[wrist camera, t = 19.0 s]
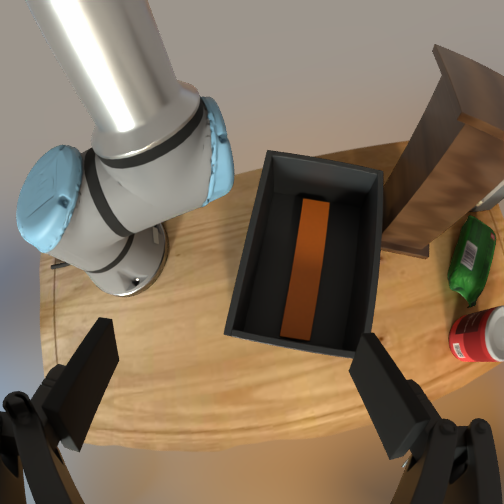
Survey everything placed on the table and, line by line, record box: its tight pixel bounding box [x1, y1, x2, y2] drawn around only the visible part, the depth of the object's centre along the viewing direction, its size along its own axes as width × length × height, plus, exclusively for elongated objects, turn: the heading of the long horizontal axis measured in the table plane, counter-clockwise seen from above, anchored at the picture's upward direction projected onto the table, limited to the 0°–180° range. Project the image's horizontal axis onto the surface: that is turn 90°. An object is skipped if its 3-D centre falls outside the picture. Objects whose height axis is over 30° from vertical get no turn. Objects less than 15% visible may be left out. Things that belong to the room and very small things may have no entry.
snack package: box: [448, 215, 496, 308], centre depth 38 cm, size 7×16×5 cm, turn 146°
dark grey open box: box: [224, 150, 383, 359], centre depth 38 cm, size 16×24×11 cm, turn 168°
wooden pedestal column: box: [381, 44, 504, 259], centre depth 30 cm, size 11×10×30 cm
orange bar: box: [280, 198, 330, 341], centre depth 41 cm, size 4×20×2 cm, turn 168°
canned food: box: [449, 306, 504, 362], centre depth 32 cm, size 8×8×11 cm
